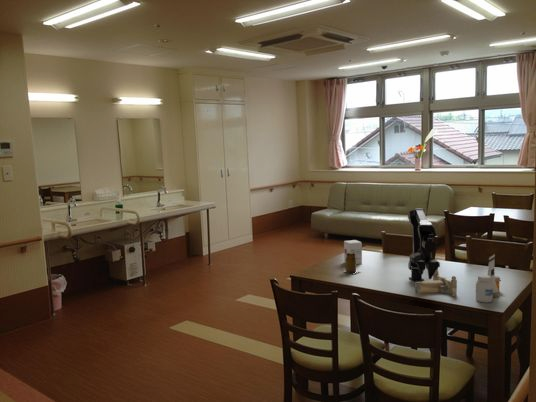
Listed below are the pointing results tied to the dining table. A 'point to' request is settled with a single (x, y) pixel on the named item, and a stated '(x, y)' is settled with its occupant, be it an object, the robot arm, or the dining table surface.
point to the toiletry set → (487, 284)
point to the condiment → (350, 263)
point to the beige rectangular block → (428, 286)
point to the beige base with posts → (446, 284)
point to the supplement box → (353, 250)
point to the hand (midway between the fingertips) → (425, 276)
